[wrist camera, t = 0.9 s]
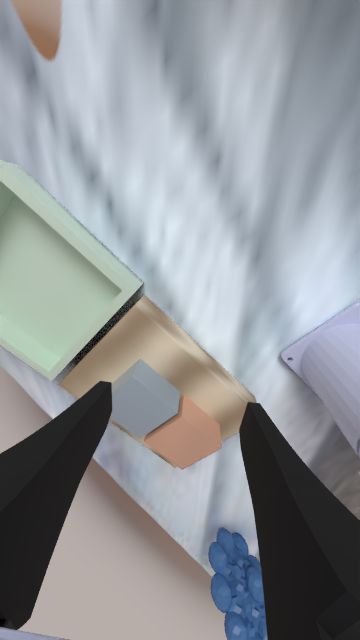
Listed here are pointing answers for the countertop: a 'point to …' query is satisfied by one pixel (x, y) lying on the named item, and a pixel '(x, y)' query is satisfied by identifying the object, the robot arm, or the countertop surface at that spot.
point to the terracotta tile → (186, 435)
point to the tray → (52, 277)
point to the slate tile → (143, 399)
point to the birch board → (162, 366)
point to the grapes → (237, 587)
